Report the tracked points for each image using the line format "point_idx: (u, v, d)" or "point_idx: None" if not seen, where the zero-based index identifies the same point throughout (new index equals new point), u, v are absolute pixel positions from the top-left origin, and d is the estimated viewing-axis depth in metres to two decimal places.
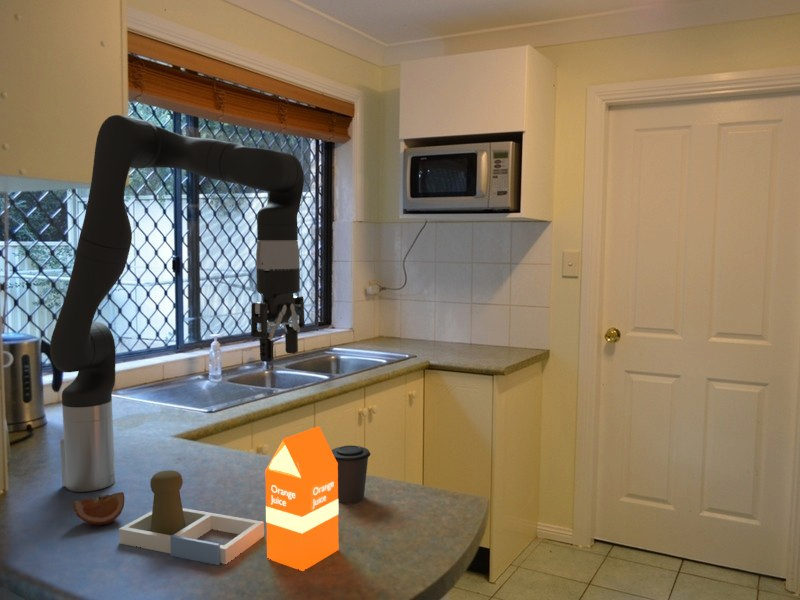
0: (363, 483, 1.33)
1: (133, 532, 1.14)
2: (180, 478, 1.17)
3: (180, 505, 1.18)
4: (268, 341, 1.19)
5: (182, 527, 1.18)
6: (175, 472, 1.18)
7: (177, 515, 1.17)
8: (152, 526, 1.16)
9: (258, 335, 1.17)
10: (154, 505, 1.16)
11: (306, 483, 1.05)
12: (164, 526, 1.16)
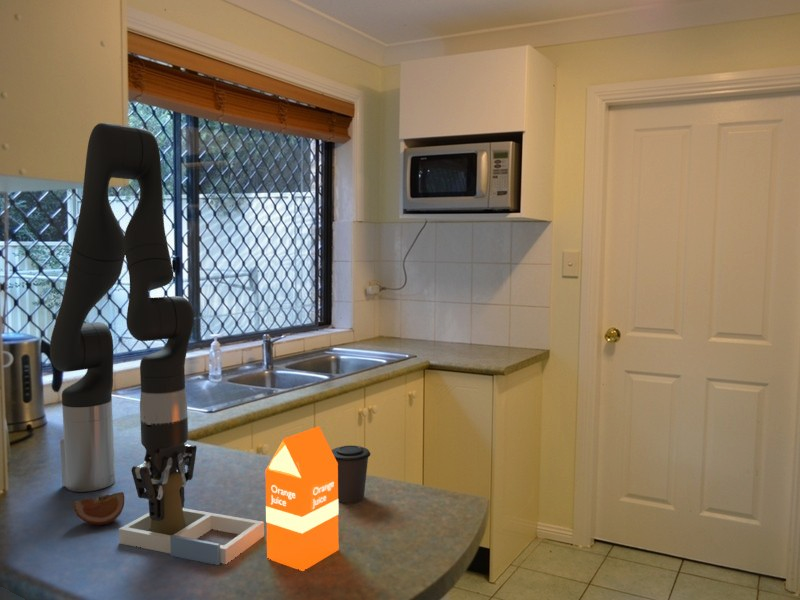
0: (363, 483, 1.33)
1: (133, 532, 1.14)
2: (180, 478, 1.17)
3: (180, 505, 1.18)
4: (157, 500, 1.15)
5: (182, 527, 1.18)
6: (175, 472, 1.18)
7: (177, 515, 1.17)
8: (152, 526, 1.16)
9: (145, 497, 1.13)
10: None
11: (306, 483, 1.05)
12: (164, 526, 1.16)
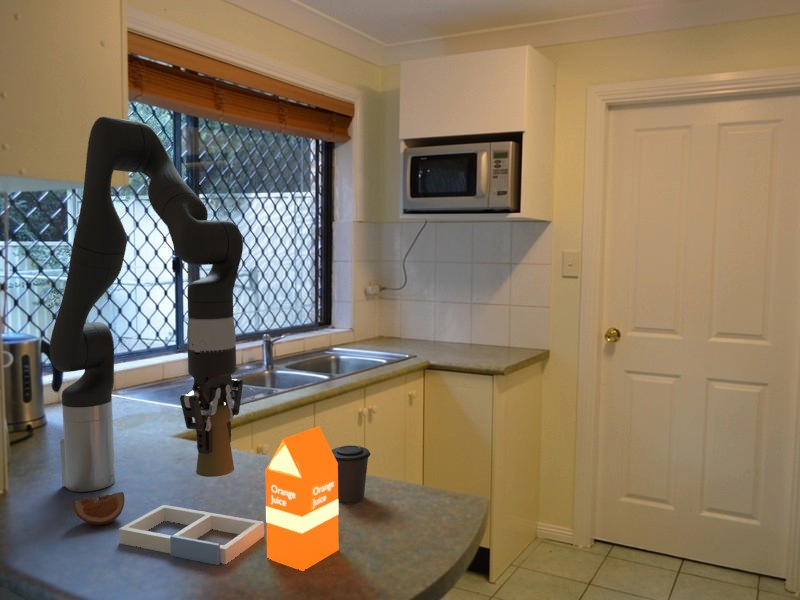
0: (363, 483, 1.33)
1: (133, 532, 1.14)
2: (228, 410, 1.13)
3: (228, 439, 1.13)
4: (206, 432, 1.10)
5: (230, 462, 1.13)
6: (223, 404, 1.13)
7: (226, 449, 1.12)
8: (199, 460, 1.12)
9: (194, 427, 1.08)
10: None
11: (306, 483, 1.05)
12: (212, 459, 1.11)
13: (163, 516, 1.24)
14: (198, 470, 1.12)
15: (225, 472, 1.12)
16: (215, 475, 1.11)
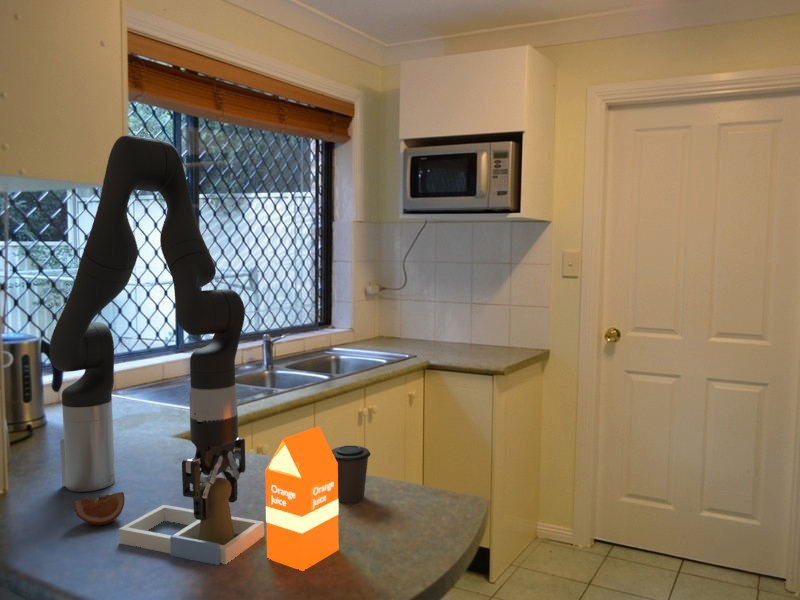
0: (363, 483, 1.33)
1: (133, 532, 1.14)
2: (229, 486, 1.14)
3: (229, 513, 1.14)
4: (202, 499, 1.10)
5: (231, 536, 1.14)
6: (224, 479, 1.14)
7: (227, 524, 1.13)
8: (200, 535, 1.13)
9: (190, 495, 1.08)
10: None
11: (306, 483, 1.05)
12: (213, 535, 1.12)
13: (163, 516, 1.24)
14: None
15: None
16: None
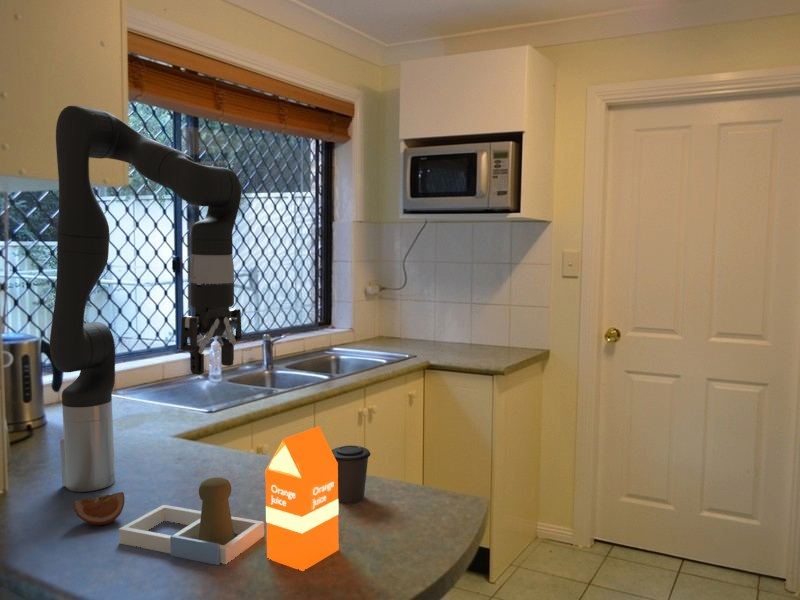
0: (363, 483, 1.33)
1: (133, 532, 1.14)
2: (229, 486, 1.14)
3: (229, 513, 1.14)
4: (198, 354, 1.20)
5: (231, 536, 1.14)
6: (224, 479, 1.14)
7: (227, 524, 1.13)
8: (200, 535, 1.13)
9: (187, 349, 1.18)
10: (203, 513, 1.13)
11: (306, 483, 1.05)
12: (213, 535, 1.12)
13: (163, 516, 1.24)
14: None
15: None
16: None
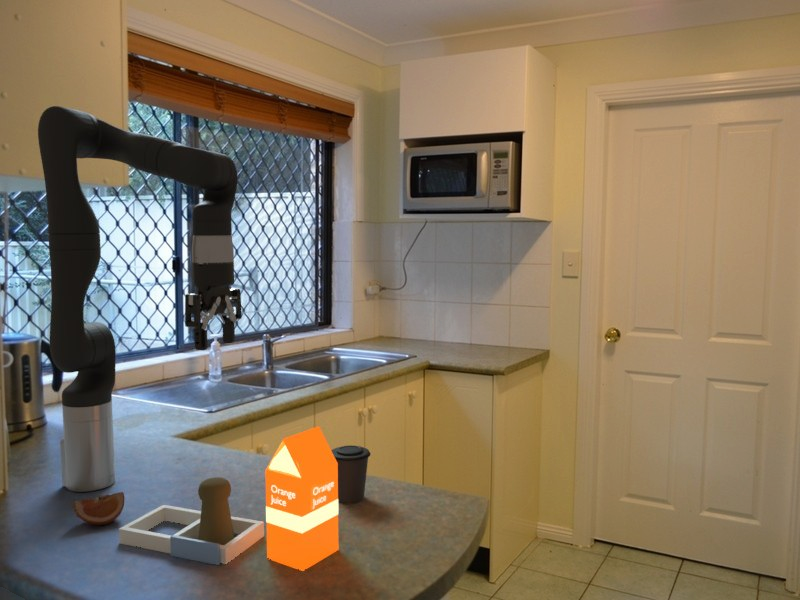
0: (363, 483, 1.33)
1: (133, 532, 1.14)
2: (229, 485, 1.14)
3: (229, 513, 1.14)
4: (202, 331, 1.26)
5: (231, 536, 1.14)
6: (223, 479, 1.14)
7: (226, 524, 1.13)
8: (200, 535, 1.13)
9: (191, 325, 1.24)
10: (202, 513, 1.13)
11: (306, 483, 1.05)
12: (213, 535, 1.12)
13: (163, 516, 1.24)
14: None
15: None
16: None
